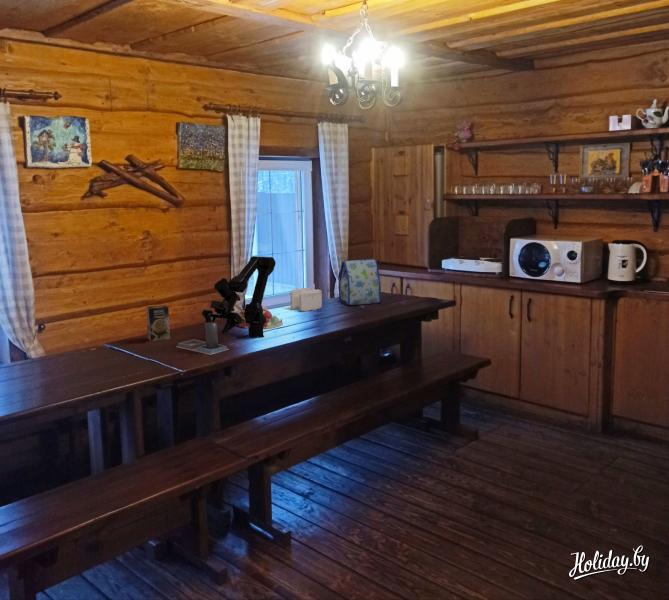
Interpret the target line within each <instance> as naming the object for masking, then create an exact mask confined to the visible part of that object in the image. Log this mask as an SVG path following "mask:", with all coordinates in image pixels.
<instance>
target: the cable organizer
mask: <svg viewBox="0 0 669 600" xmlns="http://www.w3.org/2000/svg"><path fill="white" fill-rule="evenodd" d="M289 293H290V294H289V296H290V308H291V309H292V310H294V311H297V310H300V311H302V312H304V313H305V312H309V311H318V310H317V309H321V308H322V307H323V294H322V293H323V292H322V290H321V289H311V288H309V287H304V288H302V287H301V288H295V289H292V290H290V292H289Z"/></svg>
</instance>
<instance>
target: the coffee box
mask: <svg viewBox="0 0 669 600" xmlns="http://www.w3.org/2000/svg"><path fill="white" fill-rule="evenodd" d="M169 312H170V311H169V306H168V305H165V304H164V305H153V306H152V305H151V306H146V323H147V324H146V325H147V340H149V341H150V342H154V341H155V342H156V341H159V340H160V341H162V340H170V339H171V335H170V334H171V332H170V317H169V316H170V315H169V314H170V313H169Z"/></svg>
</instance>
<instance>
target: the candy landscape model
mask: <svg viewBox="0 0 669 600" xmlns="http://www.w3.org/2000/svg"><path fill="white" fill-rule="evenodd" d="M262 308H263V315H264V316H265V317H266V319H267V320H266V323H265V324H263V330H272V329H275V328H276V329H277V328H279V327H282V326H284V322H283V319H282V318H281V319H279V318H278V316H277V315H273V314H272V313H271V312H270V311H269V310H268V308H267V307H265V306H263V305H262ZM244 310H245V309H242V310H240V311H239V313H238V314H239V315H240V317H241V318H242V323H241V324H238V328H242V329H243V328H245V329H248V326H249V323H246V321H245V318H244Z"/></svg>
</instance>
